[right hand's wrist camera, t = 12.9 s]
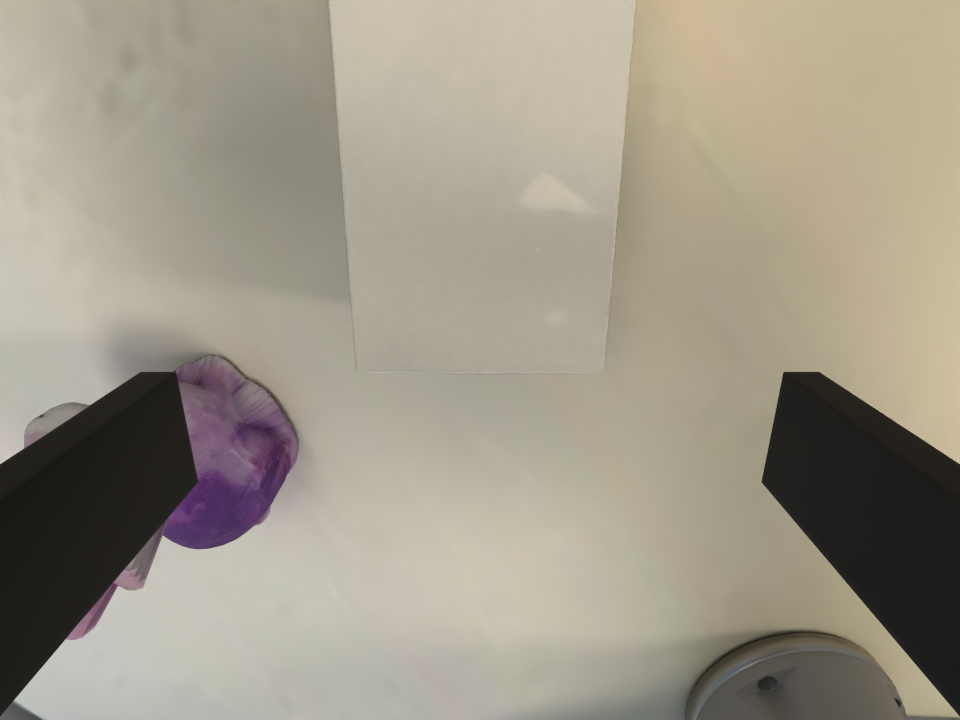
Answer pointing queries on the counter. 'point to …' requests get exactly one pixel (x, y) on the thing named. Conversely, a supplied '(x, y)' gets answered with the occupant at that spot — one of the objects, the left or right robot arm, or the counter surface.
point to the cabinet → (481, 179)
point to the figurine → (208, 465)
